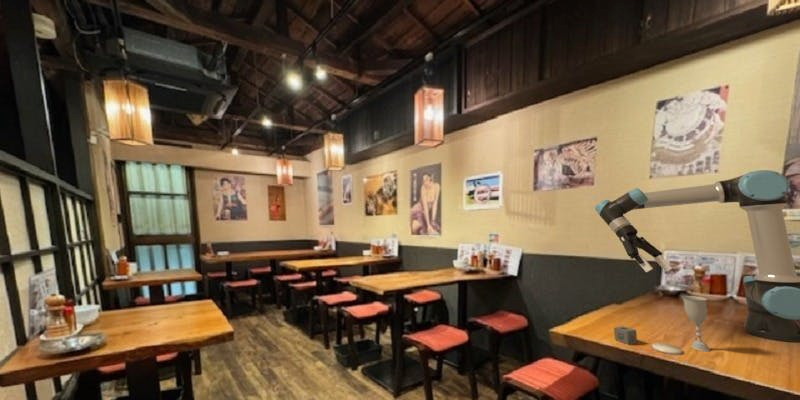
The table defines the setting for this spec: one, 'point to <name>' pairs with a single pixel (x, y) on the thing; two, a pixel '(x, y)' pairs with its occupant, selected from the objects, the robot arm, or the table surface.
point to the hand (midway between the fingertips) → (659, 270)
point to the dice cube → (625, 335)
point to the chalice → (696, 317)
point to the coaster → (667, 348)
